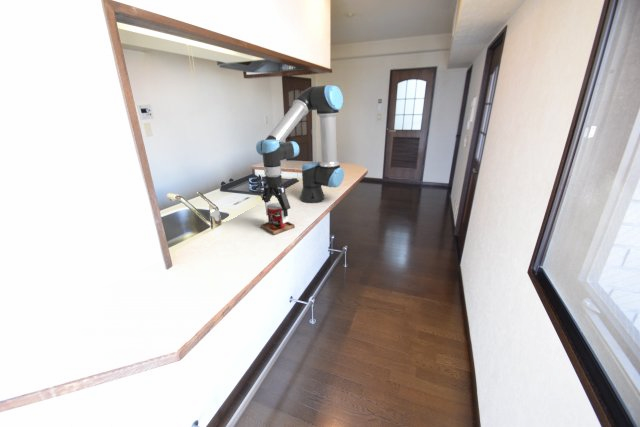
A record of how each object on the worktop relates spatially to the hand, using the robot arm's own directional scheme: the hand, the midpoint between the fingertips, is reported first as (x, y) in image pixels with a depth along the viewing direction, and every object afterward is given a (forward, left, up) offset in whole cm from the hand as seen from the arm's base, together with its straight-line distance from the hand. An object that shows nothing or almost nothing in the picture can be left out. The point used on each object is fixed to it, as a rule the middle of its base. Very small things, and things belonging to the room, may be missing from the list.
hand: (276, 218), depth 131 cm
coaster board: (0, 0, -5) cm, 5 cm away
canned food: (0, 0, -4) cm, 4 cm away
